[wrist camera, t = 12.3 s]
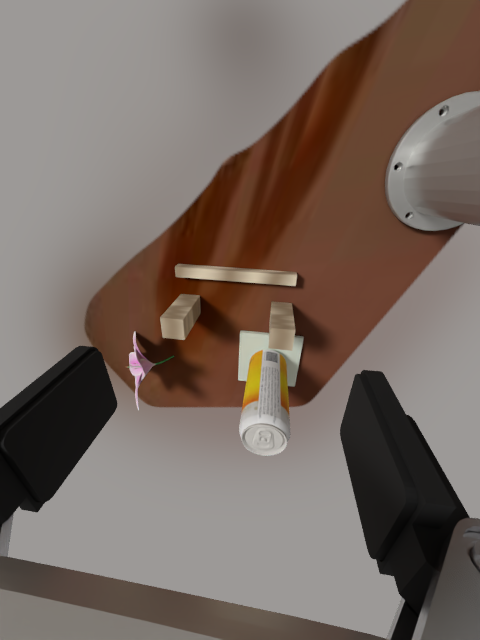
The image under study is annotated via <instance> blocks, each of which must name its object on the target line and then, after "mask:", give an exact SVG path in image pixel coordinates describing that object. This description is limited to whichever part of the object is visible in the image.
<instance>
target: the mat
mask: <svg viewBox="0 0 480 640" xmlns="http://www.w3.org/2000/svg"><path fill="white" fill-rule="evenodd" d="M303 339H304V337H303V336H294V342H293V349H292V351H290V350H280V349H270V348H268V346H269V333H263V332H253V331H242V330H240V346H239V371H238V380H241V381H247V375H248V369H249V362H250V359H251V357H252V356H253V355H254V354H255V353H256V352H258V351H261V350H267V349H268V350H273V351H276V352H278V353H280V354H281V355H282V356H283V357H284V358H285V360H286V364H287V383H288V386H293V387H295V383H296V378H297V372H298V367H299V361H300V356H301V350H302V345H303Z"/></svg>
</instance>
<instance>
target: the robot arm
mask: <svg viewBox="0 0 480 640" xmlns="http://www.w3.org/2000/svg"><path fill="white" fill-rule="evenodd" d="M439 110H440V111H441V115H439ZM395 165H397V169H396V170H394V166H395ZM385 194H386V198H387V202H388V205H389V207H390V209H391V211H392V212H393V214H394V215H395V216H396V217H397V218H398V219H399V220H400V221H402V222H403V223H405V224H406V225H408V226H411V227H413V228H416V229H421V230H427V231H438V230H446V229H449V228H453V227H456V226H459V225H461V224H463V223H467V224H473V225H478V226H480V91H475V92H467V93H464V94H460V95H457V96H454V97H451V98H449V99H447V100H445V101H443V102H441V103H439V104H438V105H436V106H435V107H433V108H431V109H430V110H428V111H427V112H426V113H424V114H423V115H422V116H421V117H420V118H418V119H417V120H416V121H415V122H414V123H413V124H412V125H411V126H410V128H409V129H408V130H407V131H406V132H405V133H404V135H403V136H402V138H401V139H400V141H399V142H398V144H397V145H396V147H395V149H394V152H393V154H392V156H391V158H390V161H389V164H388V167H387V171H386V178H385ZM407 213H408V216H407V217H405V216H406V214H407ZM116 408H117V400H116V397H115V394H114V391H113V387H112V384H111V381H110V378H109V375H108V372H107V369H106V366H105V362H104V359H103V356H102V354H101V352H99V351H98V349H97V348H95V347H87V346H79V347H77V348H75V349H74V350H73V351H71V352H70V353H69V354H68V355H66V356H65V357H64V358H63V359H62V360H60V361H59V362H58V363H56V364H55V365H54V366H53V367H52V368H50V369H49V370H48V371H46V372H45V373H44V374H43V375H42V376H40V377H39V378H38V379H36V380H35V381H34V382H33V383H31V384H30V385H29V386H28V387H26V388H25V389H24V390H23V391H21V392H20V393H19V394H18V395H17V396H15V397H14V398H13V399H11V400H10V401H9V402H8V403H6V404H5V405H4V406H3V407H2V408H0V640H480V519H478V518H470V517H469V516H468V514H467V512H466V510H465V508H464V507H463V505H462V503H461V502H460V500H459V498H458V497H457V494H456V493H455V491H454V489H453V487H452V486H451V484H450V482H449V480H448V479H447V477H446V475H445V473H444V472H443V470H442V468H441V467H440V465H439V463H438V461H437V459H436V458H435V456H434V454H433V452H432V450H431V449H430V447H429V445H428V443H427V442H426V440H425V438H424V436H423V435H422V433H421V431H420V430H419V428H418V426H417V424H416V422H415V421H414V420H413V419H412V417H410V416H409V415H406V414H405V412H404V410H403V408H402V407H401V405H400V403H399V401H398V399H397V397H396V396H395V394H394V392H393V390H392V388H391V386H390V385H389V383H388V381H387V379H386V377H385V375H384V374H383V373H382V372H380V371H368V370H363V371H362V372H361V374H356V375H355V378H354V381H353V385H352V388H351V392H350V395H349V399H348V403H347V406H346V410H345V413H344V417H343V420H342V424H341V429H340V436H341V441H342V445H343V449H344V453H345V457H346V461H347V466H348V470H349V474H350V478H351V482H352V486H353V491H354V495H355V499H356V503H357V507H358V512H359V516H360V520H361V524H362V528H363V532H364V537H365V541H366V545H367V549H368V552H369V555H370V557H371V558H372V559H376V560H377V564H378V568H379V572H380V574H386V575H391V576H394V578H395V581H396V585H397V588H398V592H399V594H400V595H401V596H402V599H401V601H400V604H399V607H398V610H397V612H396V615H395V618H394V620H393V623H392V625H391V628H390V631H389V633H388V636H387V638H386V639H385V638H381V637H378V636H375V635H371V634H367V633H362V632H358V631H354V630H349V629H345V628H341V627H337V626H333V625H328V624H324V623H320V622H316V621H311V620H307V619H303V618H298V617H294V616H290V615H285V614H280V613H276V612H271V611H266V610H261V609H256V608H252V607H247V606H243V605H238V604H233V603H228V602H224V601H219V600H214V599H210V598H205V597H200V596H195V595H191V594H186V593H181V592H176V591H171V590H167V589H162V588H157V587H152V586H148V585H142V584H138V583H133V582H128V581H123V580H118V579H113V578H108V577H104V576H99V575H94V574H89V573H85V572H80V571H74V570H70V569H65V568H60V567H55V566H50V565H45V564H40V563H35V562H30V561H25V560H20V559H15V558H10V557H7V555H8V548H9V542H10V535H11V527H12V520H13V513H14V512H15V511H16V509H17V508H18V507H19V506H20V508H21V509H22V510H28V511H33V512H38V511H39V510H40V508H41V507H42V506H43V504H44V503H45V502H46V501H48V500H50V499H51V498H52V497H53V496H54V494H55V493H56V491H57V490H58V489H59V487H60V486H61V485H62V483H63V482H64V480H65V479H66V478H67V476H68V475H69V474H70V472H71V471H72V470H73V468H74V467H75V465H76V464H77V463H78V461H79V460H80V458H81V457H82V456H83V454H84V453H85V452H86V450H87V449H88V447H89V446H90V445H91V443H92V442H93V440H94V439H95V438H96V436H97V435H98V434H99V432H100V431H101V430H102V428H103V427H104V426H105V424H106V423H107V421H108V420H109V419H110V417H111V416H112V415H113V413H114V412H115V410H116Z"/></svg>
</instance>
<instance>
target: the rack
mask: <svg viewBox="0 0 480 640" xmlns="http://www.w3.org/2000/svg"><path fill="white" fill-rule="evenodd" d="M175 273H176V277H183V278H196V279H209V280H222V281H235V282H249V283H262V284H275V285H288V286H296V280H297V273H296V272H286V271H272V270H258V269H244V268H230V267H216V266H202V265H188V264H178V265H176V266H175ZM200 313H201V309H200V296H199V295H187V294H181V295H180V296H179V297H178V298H177V299H176V300H175V301H174V303H173V304H172V305H171V306H170V307H169V308H168V309H167V310H166V312H165V313H164V314H163V315H162V316H161V317H160V321H161V328H162V336H163V338H171V339H181V340H185V338H186V337H187V335H188V333H189V332H190V330H191V328H192V327H193V325H194V323H195V322H196V320H197V318H198V317H199V315H200ZM294 336H295V323H294V315H293V308H292V303H283V302H272V303H271V313H270V326H269V346H268V348H270V349H280V350H290V351H292V349H293V342H294Z"/></svg>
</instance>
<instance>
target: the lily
mask: <svg viewBox="0 0 480 640" xmlns="http://www.w3.org/2000/svg"><path fill="white" fill-rule="evenodd" d="M133 343H134V351H135V352H131V353H130V355H129V365H130V369H129V370H130V371H131V373H132V374H133V375H134V376H135V384H136V391H135V397H136V404H137V408H138V410H139V406H138V387H139V385H140V383H141V382H142V380H143V379H144V377H145V376H146V375H147V373H148V372H149V371H150V369H151V368H152V367H153V366H154V365H157V364H160V363H163V362H165V361H167V360H169V359H171V358H173V357H174V356H171V357H169V358H167V359H165V360H163V361H161V362H158V363H151V362H150V361H149V360H148V359H147V358H146V357H145V356H144V355H143V354H142V353H141V352H140V351H139V349H138V347H137V344H136V331H135V332H134V335H133ZM126 368H128V367H127V366H126Z"/></svg>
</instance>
